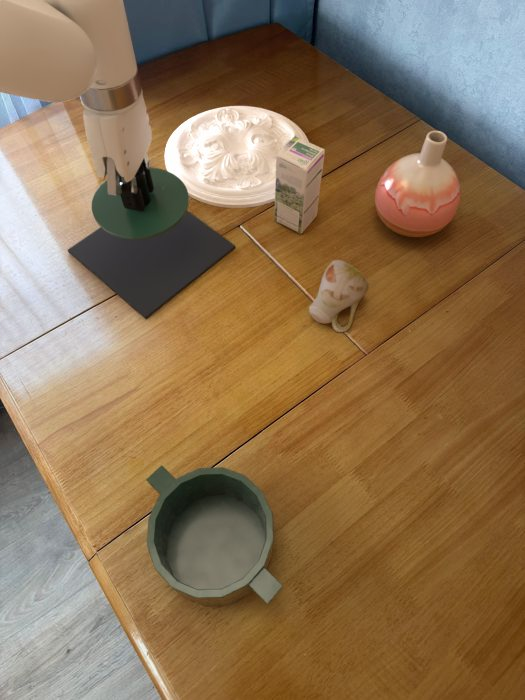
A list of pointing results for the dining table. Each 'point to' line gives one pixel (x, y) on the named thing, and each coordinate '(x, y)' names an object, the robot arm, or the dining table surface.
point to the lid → (159, 212)
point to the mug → (338, 294)
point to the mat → (152, 261)
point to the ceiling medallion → (230, 155)
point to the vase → (419, 191)
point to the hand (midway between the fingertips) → (139, 198)
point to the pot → (212, 536)
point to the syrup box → (298, 184)
